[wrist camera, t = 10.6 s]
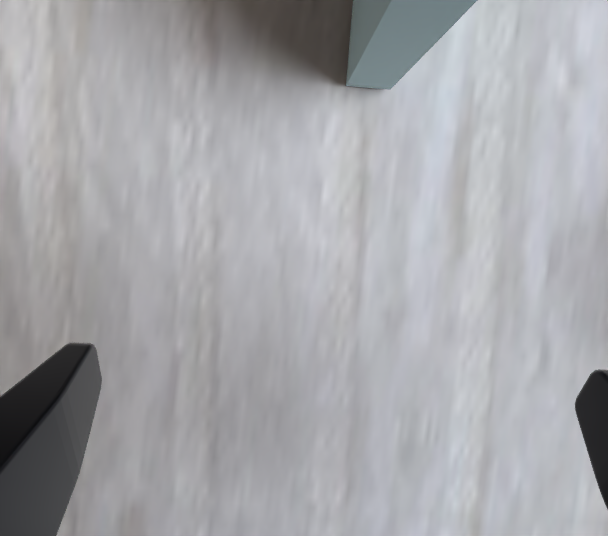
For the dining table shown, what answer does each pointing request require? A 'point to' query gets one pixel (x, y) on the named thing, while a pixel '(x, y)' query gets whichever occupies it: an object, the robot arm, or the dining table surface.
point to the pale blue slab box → (395, 37)
